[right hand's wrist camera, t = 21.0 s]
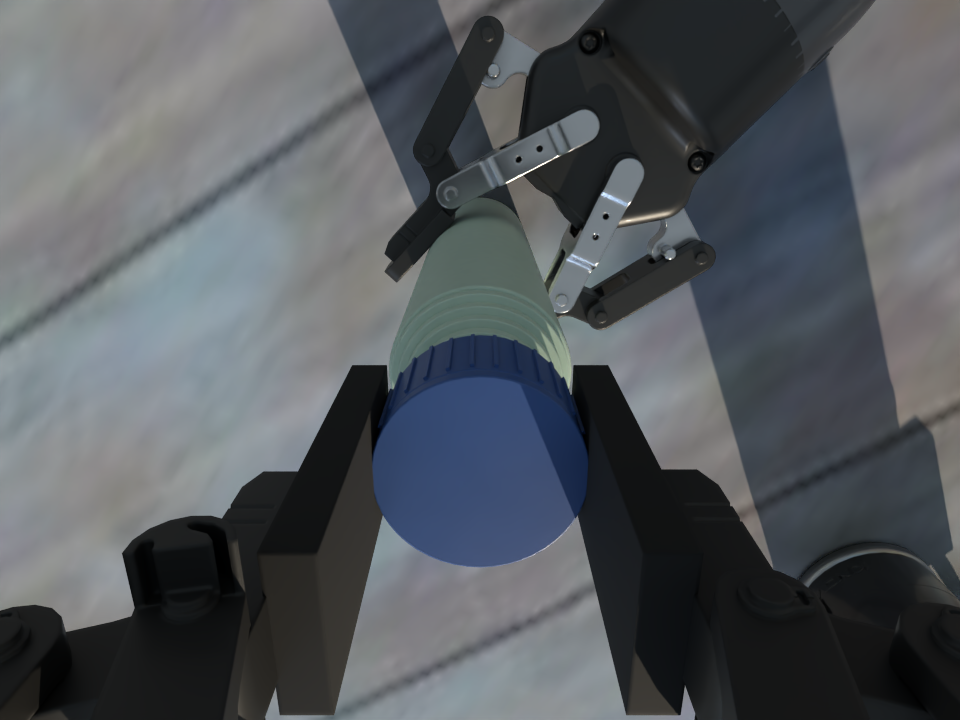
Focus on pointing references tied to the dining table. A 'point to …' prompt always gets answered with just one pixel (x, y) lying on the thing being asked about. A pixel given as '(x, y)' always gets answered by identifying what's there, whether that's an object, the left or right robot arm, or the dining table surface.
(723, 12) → the left robot arm
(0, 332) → the dining table surface
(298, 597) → the right robot arm
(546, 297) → the bottle
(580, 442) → the cap
